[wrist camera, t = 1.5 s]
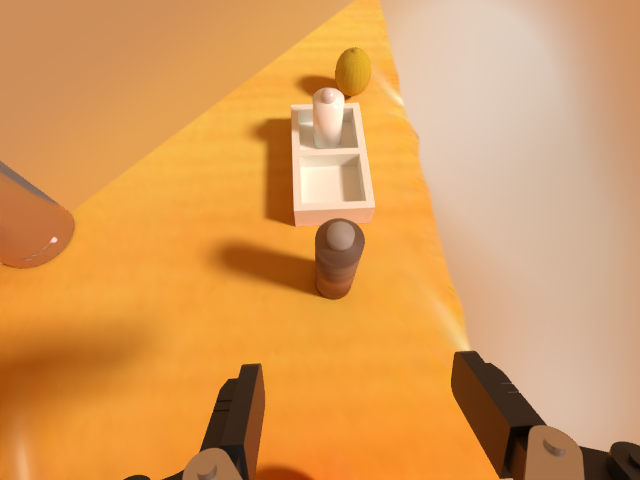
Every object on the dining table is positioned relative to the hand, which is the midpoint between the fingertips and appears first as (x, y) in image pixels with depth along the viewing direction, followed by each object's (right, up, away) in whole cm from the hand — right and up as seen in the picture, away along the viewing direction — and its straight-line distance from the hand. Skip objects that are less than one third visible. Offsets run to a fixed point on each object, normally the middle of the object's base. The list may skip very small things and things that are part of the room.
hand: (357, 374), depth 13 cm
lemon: (+3, +30, +40) cm, 50 cm away
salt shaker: (-1, +20, +34) cm, 39 cm away
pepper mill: (0, 0, +26) cm, 26 cm away
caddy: (0, +16, +33) cm, 37 cm away
